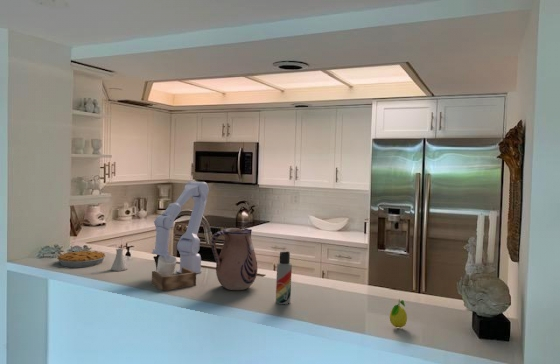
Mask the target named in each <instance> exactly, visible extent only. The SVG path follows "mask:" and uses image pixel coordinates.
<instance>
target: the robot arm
mask: <svg viewBox="0 0 560 364" xmlns="http://www.w3.org/2000/svg"><path fill="white" fill-rule="evenodd" d="M208 185H209V184H208V183H207V182H205V181H193V180H190V181H188V182H187V183H186V184H185V185H184V190H183V191H182V192H181V194H180V195H179V197H178V198H177V199H176V200H175V202H171V203H169V204H168V207H167V208H166V209H165V210H164V211H163V212H162V214H160V215H157V217H156V218H155V220H154V221H153V223H154V226H155V231H156V232H155V242H154V243H155V245H154V248H153V249H152V252H151V254H153V255H155V256H153V257H152V258H153V260H154V262H155V272H157V265H158V258H159V256H162V257H163V258H165V259H170V255H171V254H170V253H169V243H170V231H171V229H172V228H173V226H174V223H175V219H176V218H177V217H178V216H179V214H180V213H181V212H182V207H183V206H184V205H185V204H186V203H187V202H188V200H190V198H192V200H193V201H194V204H193V207H192V211H191V214H190V217H189V221H188V224H187V228H186V231H185V233H184V234H182V235H181V236H180V238H179V241H178V242H177V244H176V249H177V251H178V252H179V253H178V254H179V255H180V257H179V269H178V270H176V273H179V274H181V269H182V267H185V268H187V269H189V270H191V271H194V272H196V274H200V273H202V271H201V269H202V257H201V254H200V253H198V252H199V251H200V242H201V239H200V238H199V237H198V234H199V229H200V226H201V223H202V219H203V216H204V212H205V209H206V205H207V202H208V195H209V192H210V188H209V186H208Z"/></svg>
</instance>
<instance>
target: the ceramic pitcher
mask: <svg viewBox="0 0 560 364" xmlns="http://www.w3.org/2000/svg"><path fill="white" fill-rule="evenodd" d="M252 231H253V230H252V229H251V228H250V229H249V228H244V229H243V228H242V229H241V228H239V227H230V228H224V229H223V230H220V231H217V232H215V233H214V234H213V236H212V238H211V240H210V241H211V242H210V244H211V245H210V246H211V250H212V254H213V257H214V260H215V263H216V266H215V273H216V278H217V281H218V282H219V284H220V285H221V286H222V287H223V288H225V289H227V290H231V291H243V290H244V291H245V290H247V289H248V288H249V287H251V286H252V285H253V283H254V282H255V280H256V278H257V276H258V262H257V256H256V252H255V248H254V244H253V241H252ZM221 236H223V237H224V242H223V245H222V248H221V250H220V252H219V253H218V251H217V246H216V243H217V240H218V239H219V238H220V237H221Z"/></svg>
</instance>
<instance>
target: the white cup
mask: <svg viewBox="0 0 560 364" xmlns="http://www.w3.org/2000/svg"><path fill="white" fill-rule="evenodd" d="M169 255H170V259H165V258H163V257H162V256H159V258H158V265H157V271H156V272H157V273H159V274H161V275H163V276H172V275H174V272H175V269H176V264H177V262H178V259H177V258H176V257H175V256H174V255H171V254H169Z"/></svg>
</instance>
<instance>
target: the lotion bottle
mask: <svg viewBox="0 0 560 364" xmlns="http://www.w3.org/2000/svg"><path fill="white" fill-rule="evenodd" d="M290 256H291V253H290V251H280V252H279V262H277V264H276V281H275V282H276V283H275V285H276V286H275V303H276V302H277V303H276V304H278V303H279V304H278V305H282V304H285V305H289V304H291V299H292V298H291V293H292V272H293V271H292V269H293V267H292V266H293V265H292V263H291V262H290V258H291V257H290ZM288 303H289V304H288Z"/></svg>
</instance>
